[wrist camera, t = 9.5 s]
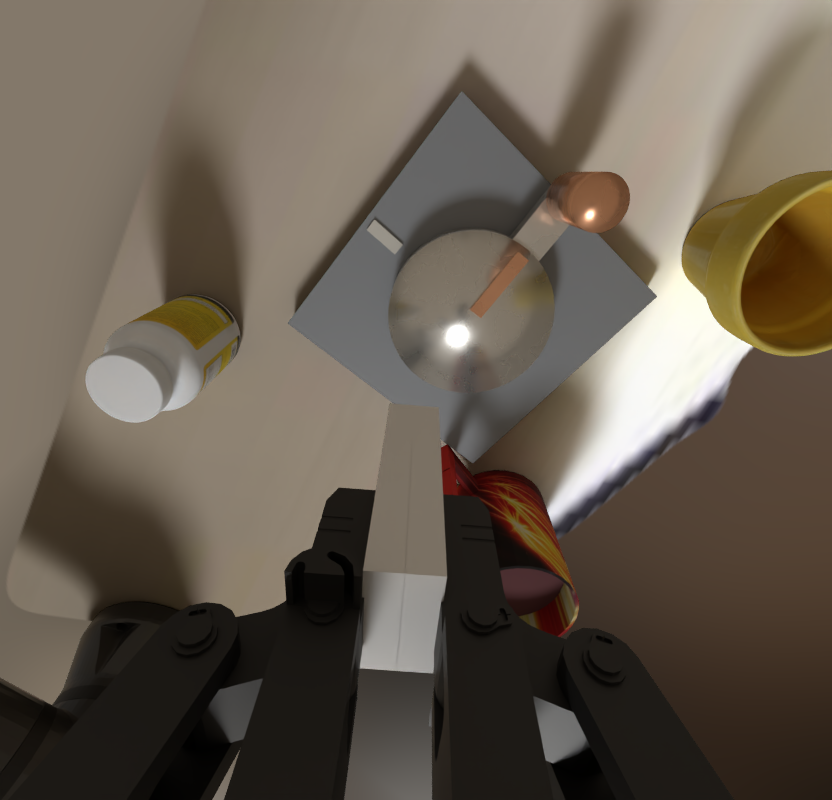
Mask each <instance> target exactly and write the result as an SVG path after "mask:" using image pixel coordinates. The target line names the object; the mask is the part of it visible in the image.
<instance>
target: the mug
mask: <svg viewBox="0 0 832 800" xmlns="http://www.w3.org/2000/svg"><path fill="white" fill-rule="evenodd" d="M441 463H442V484H443V494H447V495H460V496H473V497H479V498H480V500H481V501H482V502H483V504H484V505H485V506H486V508H487V509H488V510H489V513H490V518H491V524H492V530H493V535H494V543H495V546H496V551H497V556H498V562H499V567H500V573H501V578H502V584H503V589H504V594H505V597H506V600H507V602H508V604H509V605H510V606H511V607H512V608H513V610H514V612H515V613H516V614H517V615H518V616H519V617H520V618H521V619H522V620H524V621H525V622H526V623H528V624H529V625H531V626H533V627H535V628H537V629H539V630H542V631H544V632H547V633H550V634H552V635H555V636H558V637H561V636H562V635H563V634H565V633H566V632H567V631H568V630H569V629H570V627H571V626H572V625H573V623H574V622H575V620H576V618H577V614H578V611H579V600H578V597H577V594H576V591H575V589H574V586H573V583H572V580H571V577H570V574H569V571H568V569H567V566H566V563H565V560H564V557H563V555H562V552H561V549H560V546H559V543H558V540H557V538H556V535H555V532H554V529H553V526H552V523H551V521H550V518H549V515H548V512H547V509H546V506H545V504H544V501H543V498H542V495H541V493H540V491H539V489H538V488H537V486H536V485H535V484H534V483H533V482H532V481H530V480H529V479H527V478H526V477H524V476H522V475H520V474H517V473H515V472H509V471H500V470H494V471H487V472H483V473H479V474H476V475H474V476H472V474H471V473H470V472H469V471H468V469H467V468H466V467H465V466H464V464H463V463H462V462H461V461H460V459H459V458H458V457H457V456H456V455H455V453H454V452H453V450H452V449H451V448H450V446H449V445H448V444H447V445H445V446H443V447H441ZM456 479H457V481H458V482H459V483H460V485H459V486H458V487H457V482H456Z"/></svg>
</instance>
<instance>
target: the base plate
mask: <svg viewBox="0 0 832 800" xmlns="http://www.w3.org/2000/svg"><path fill="white" fill-rule="evenodd" d="M550 185H551V184H550V183H549V182H548V181H547V180H546V179H545V178H544V177H543V176H542V175H541V174H540V173H539V172H538V171H537V170H536V168H535V167H534V166H533V165H532V164H531V163H530V162H529V161H528V160H527V159H526V158H525V157H524V156H523V155H522V154H521V153H520V152H519V151H518V150H517V148H516V147H515V146H514V145H513V144H512V143H511V142H510V141H509V140H508V139H507V138H506V137H505V136H504V135H503V134H502V133H501V132H500V131H499V130H498V129H497V127H496V126H495V125H494V124H493V123H492V122H491V121H490V120H489V119H488V118H487V117H486V116H485V115H484V114H483V113H482V112H481V111H480V110H479V109H478V107H477V106H476V105H475V104H474V103H473V102H472V101H471V100H470V99H469V98H468V97H467V96H466V95H465V94H464V93H463V92H462V91H461V92H460V94H459V95H458V96H457V98H456V99H455V100H454V102H453V103H452V104H451V106H450V107H449V108H448V110H447V111H446V112H445V114H444V115H443V116H442V118H441V119H440V120H439V122H438V123H437V124H436V126H435V127H434V128H433V130H432V131H431V132H430V134H429V135H428V136H427V138H426V139H425V140H424V142H423V143H422V144H421V146H420V147H419V148H418V150H417V151H416V152H415V154H414V155H413V156H412V158H411V159H410V161H409V162H408V163H407V165H406V166H405V167H404V169H403V170H402V171H401V173H400V174H399V175H398V177H397V178H396V179H395V181H394V182H393V183H392V185H391V186H390V187H389V189H388V190H387V191H386V193H385V194H384V195H383V197H382V198H381V199H380V201H379V202H378V203H377V205H376V206H375V207H374V209H373V210H372V211H371V213H370V214H369V215H368V217H367V218H366V219H365V221H364V222H363V223H362V225H361V226H360V227H359V229H358V230H357V231H356V233H355V234H354V235H353V237H352V238H351V239H350V241H349V242H348V243H347V245H346V246H345V247H344V249H343V250H342V251H341V253H340V254H339V255H338V257H337V258H336V259H335V261H334V262H333V263H332V265H331V266H330V267H329V269H328V270H327V271H326V273H325V274H324V275H323V277H322V278H321V279H320V281H319V282H318V283H317V285H316V286H315V287H314V289H313V290H312V291H311V293H310V294H309V295H308V297H307V298H306V299H305V301H304V302H303V303H302V305H301V306H300V307H299V309H298V310H297V311H296V313H295V314H294V315H293V317H292V318H291V319H290V321H289V322H288V324H289V325H290V326H292V327H293V328H294V329H296V330H297V331H298V332H300V333H301V334H302V335H304V336H305V337H306V338H308V339H309V340H310V341H312V342H313V343H314V344H316V345H317V346H318V347H320V348H321V349H322V350H324V351H325V352H326V353H327V354H329V355H330V356H331V357H333V358H334V359H335V360H337V361H338V362H339V363H341V364H342V365H343V366H345V367H346V368H347V369H349V370H350V371H351V372H353V373H354V374H355V375H357V376H358V377H359V378H361V379H362V380H363V381H364V382H366V383H367V384H368V385H370V386H371V387H372V388H374V389H375V390H376V391H378V392H379V393H380V394H382V395H383V396H384V397H386V398H387V399H388V400H390V401H391V402H392V403H394V404H403V405H416V406H429V407H439V423H440V439H441V440H442V441H444V442H445V443H446V444H448V445H449V446H450V447H452V448H453V449H454V450H456V451H457V452H458V453H460V454H461V455H462V456H464V457H465V458H466V459H468V460H469V461H470V462H472V463H474V462H475V461H476V460H477V459H479V458H480V457H481V456H482V455H483V454H484V453H485V452H486V451H487V450H488V449H490V448H491V447H492V446H493V445H494V444H495V443H496V442H497V441H498V440H499V439H501V438H502V437H503V436H504V435H505V434H506V433H507V432H508V431H509V430H511V429H512V428H513V427H514V426H515V425H516V424H517V423H518V422H519V421H520V420H522V419H523V418H524V417H525V416H526V415H527V414H528V413H529V412H530V411H531V410H533V409H534V408H535V407H536V406H537V405H538V404H539V403H540V402H541V401H542V400H544V399H545V398H546V397H547V396H548V395H549V394H550V393H551V392H552V391H554V390H555V389H556V388H557V387H558V386H559V385H560V384H561V383H562V382H563V381H565V380H566V379H567V378H568V377H569V376H570V375H571V374H572V373H573V372H574V371H576V370H577V369H578V368H579V367H580V366H581V365H582V364H583V363H584V362H585V361H587V360H588V359H589V358H590V357H591V356H592V355H593V354H594V353H595V352H596V351H598V350H599V349H600V348H601V347H602V346H603V345H604V344H605V343H606V342H608V341H609V340H610V339H611V338H612V337H613V336H614V335H615V334H616V333H617V332H619V331H620V330H621V329H622V328H623V327H624V326H625V325H626V324H627V323H628V322H630V321H631V320H632V319H633V318H634V317H635V316H636V315H637V314H638V313H639V312H641V311H642V310H643V309H644V308H645V307H646V306H647V305H648V304H649V303H651V302H652V301H653V300H654V299H655V298H656V297H657V296H656V295H655V294H654V293H653V292H652V290H651V289H650V288H649V287H648V286H647V285H646V284H645V283H644V282H643V281H642V280H641V279H640V278H639V277H638V276H637V275H636V274H635V273H634V272H633V271H632V269H631V268H630V267H629V266H628V265H627V264H626V263H625V262H624V261H623V260H622V259H621V258H620V257H619V256H618V255H617V254H616V253H615V252H614V251H613V249H612V248H611V247H610V246H609V245H608V244H607V243H606V242H605V241H604V240H603V239H602V238H601V237H600V236H599V235H598V234H597V233H591V232H587V231H585V230H582V229H579V228H577V227H574V226H571V225H569V226H568V227H567V229H566V230H565V231H564V232H563V233H562V235H561V236H560V237H559V238H558V239H557V240H556V242H555V243H554V244H553V245H552V246H551V248H550V249H549V250H548V251H547V252H546V253H545V255H544V256H543V257H542V258H541V259H540V261H539V262H540V264H541V265H542V266H543V268H544V270H545V272H546V274H547V275H548V278H549V281H550V283H551V286H552V290H553V295H554V304H555V311H554V321H553V326H552V330H551V333H550V336H549V339H548V341H547V343H546V345H545V347H544V349H543V351H542V352H541V354H540V355H539V357H538V358H537V359H536V360H535V362H534V363H533V364H532V365H531V366H530V367H529V368H528V369H527V370H526V371H525V372H524V373H522V374H521V375H520V376H518V377H517V378H516V379H514V380H512V381H511V382H509V383H507V384H505V385H503V386H500V387H498V388H495V389H492V390H488V391H483V392H477V393H458V392H452V391H447V390H444V389H441V388H438V387H435V386H433V385H431V384H429V383H427V382H426V381H424V380H422V379H421V378H419V377H418V376H417V375H416V374H414V373H413V372H412V371H411V370H410V369H409V368H408V367H407V366H406V364H405V363H404V362H403V360H402V359H401V358H400V356H399V354H398V352H397V351H396V349H395V346H394V344H393V341H392V338H391V334H390V330H389V322H388V308H389V302H390V296H391V293H392V290H393V286H394V283H395V280H396V278H397V276H398V274H399V271H400V270H401V268H402V267H403V265H404V263H405V262H406V261H407V259H408V258H409V257H410V256H411V255H412V253H414V252H415V251H416V250H417V249H418V248H419V247H420V246H421V245H423V244H424V243H425V242H427V241H428V240H430V239H432V238H434V237H436V236H437V235H439V234H442V233H445V232H448V231H451V230H455V229H460V228H470V227H474V228H485V229H490V230H494V231H497V232H500V233H503V234H505V235H507V236H509V237H510V235H511V234H512V233H513V232H514V230H515V229H516V228H517V227H518V225H519V224H520V223H521V222H522V220H523V219H524V218H525V217H526V215H527V214H528V213H529V212H530V210H531V209H532V208H533V207H534V205H535V204H536V203H537V202H538V200H539V199H540V198H541V197H542V195H543V194H544V193H545V192H546V190H547V189H548V188H549V187H550Z"/></svg>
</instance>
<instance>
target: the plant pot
mask: <svg viewBox="0 0 832 800" xmlns="http://www.w3.org/2000/svg"><path fill="white" fill-rule="evenodd" d="M682 267H683V271H684V273H685V275H686V277H687V278H688V280H689V281H690V282H691V283H692V284H693V285H694V286H695V287H696V288H697V289H698V290H699V291H700V292H701V293H702V294H703V295H704V296H705V297H706V299H707V303H708V305H709V308H710V311H711V313H712V314H713V316H714V318H715V319H716V320H717V322H718V323H719V324H720V325H721V326H722V327H723V328H724V329H726V330H727V331H728V332H730V333H731V334H733V335H734V336H736V337H737V338H739V339H741V340H743V341H744V342H746V343H748V344H750V345H752V346H754V347H756V348H758V349H760V350H762V351H765V352H767V353H771V354H775V355H782V356H805V355H812V354H816V353H820V352H824V351H827V350H830V349H832V171H819V172H809V173H804V174H799V175H795V176H792V177H789V178H786V179H784V180H781V181H779V182H777V183H775V184H773V185H771V186H769V187H768V188H766V189H764V190H763V191H761V192H760V193H758V194H755V195H751V196H747V197H743V198H739V199H735V200H732V201H728V202H725V203H723V204H720V205H718V206H716V207H714V208H713V209H711V210H710V211H708V212H707V213H706V214H704V215H703V216H702V217H701V218H700V219H699V220H698V221H697V222H696V224H695V225H694V226H693V227H692V229H691V230H690V232H689V234H688V236H687V238H686V240H685V243H684V246H683V250H682Z"/></svg>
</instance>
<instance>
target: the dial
mask: <svg viewBox="0 0 832 800" xmlns="http://www.w3.org/2000/svg"><path fill="white" fill-rule="evenodd" d="M629 201H630V193H629V188H628V186H627V184H626V182H625V181H624V179H623V178H622V177H620V176H619V175H617V174H615V173H612V172H568V173H565V174H562V175H560V176H559V177H558V178H556V179H555V180H554V181H553V183H552V184H551V185H550V187H549V188H548V189H547V190H546V192H545V193H544V194H543V195H542V197H541V198H540V199H539V200H538V202H537V203H536V204H535V205H534V207H533V208H532V209H531V210H530V212H529V213H528V214H527V215H526V217H525V218H524V219H523V220H522V222H521V223H520V224H519V225H518V227H517V228H516V229H515V230H514V232H513V233H512V234H511V235H510V237H509V236H507V235H505V234H503V233H500V232H497V231H494V230H490V229H485V228H474V227H470V228H460V229H455V230H451V231H448V232H445V233H442V234H439V235H437V236H436V237H434V238H432V239H430V240H428V241H427V242H425V243H424V244H423V245H421V246H420V247H419V248H418V249H417V250H416V251H415V252H414V253H412V255H411V256H410V257H409V258H408V259H407V261H406V262H405V263H404V265H403V267H402V268H401V270H400V271H399V274H398V276H397V278H396V280H395V283H394V286H393V290H392V293H391V296H390V302H389V308H388V322H389V330H390V334H391V338H392V341H393V344H394V346H395V349H396V351H397V352H398V354H399V356H400V358H401V359H402V360H403V362H404V363H405V364H406V366H407V367H408V368H409V369H410V370H411V371H412V372H413V373H414V374H416V375H417V376H418V377H419V378H421V379H422V380H424V381H426V382H427V383H429V384H431V385H433V386H435V387H438V388H441V389H444V390H447V391H452V392H458V393H477V392H483V391H488V390H492V389H495V388H498V387H500V386H503V385H505V384H507V383H509V382H511V381H512V380H514V379H516V378H517V377H518V376H520V375H521V374H522V373H524V372H525V371H526V370H527V369H528V368H529V367H530V366H531V365H532V364H533V363H534V362H535V360H536V359H537V358H538V357H539V355H540V354H541V352H542V351H543V349H544V347H545V345H546V343H547V341H548V339H549V336H550V333H551V330H552V326H553V321H554V311H555V304H554V295H553V290H552V286H551V283H550V281H549V278H548V275H547V274H546V272H545V270H544V268H543V266H542V265H541V264H540V262H539V261H540V259H541V258H542V257H543V256H544V255H545V253H546V252H547V251H548V250H549V249H550V248H551V246H552V245H553V244H554V243H555V242H556V240H557V239H558V238H559V237H560V236H561V235H562V233H563V232H564V231H565V230H566V229H567V227H568V226H569V225H571V226H574V227H577V228H579V229H582V230H585V231H587V232H591V233H601V232H605V231H608V230H610V229H612V228H613V227H615V226H616V225H617V224H618V223H619V222H620V221H621V220H622V219H623V217H624V215H625V214H626V212H627V209H628V206H629Z"/></svg>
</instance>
